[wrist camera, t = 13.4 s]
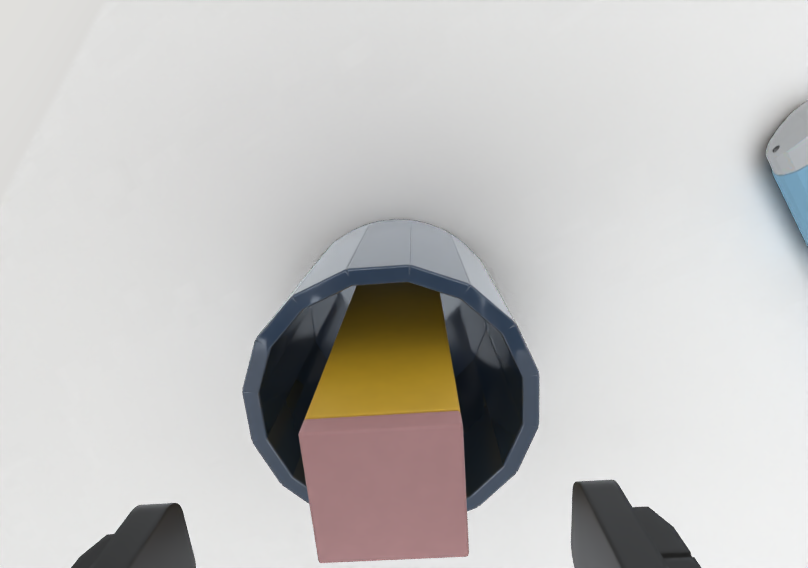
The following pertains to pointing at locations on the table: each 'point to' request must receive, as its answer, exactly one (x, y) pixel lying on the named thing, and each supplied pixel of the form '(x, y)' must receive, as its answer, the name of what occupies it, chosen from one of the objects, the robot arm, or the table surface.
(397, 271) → the pen pot
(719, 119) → the table surface
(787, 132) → the pen
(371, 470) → the yellow eraser-tipped block
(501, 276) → the table surface
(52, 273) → the table surface
